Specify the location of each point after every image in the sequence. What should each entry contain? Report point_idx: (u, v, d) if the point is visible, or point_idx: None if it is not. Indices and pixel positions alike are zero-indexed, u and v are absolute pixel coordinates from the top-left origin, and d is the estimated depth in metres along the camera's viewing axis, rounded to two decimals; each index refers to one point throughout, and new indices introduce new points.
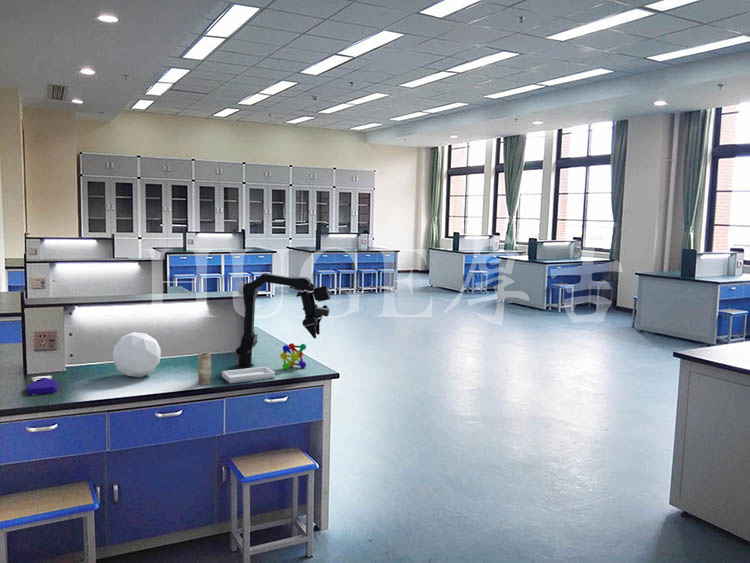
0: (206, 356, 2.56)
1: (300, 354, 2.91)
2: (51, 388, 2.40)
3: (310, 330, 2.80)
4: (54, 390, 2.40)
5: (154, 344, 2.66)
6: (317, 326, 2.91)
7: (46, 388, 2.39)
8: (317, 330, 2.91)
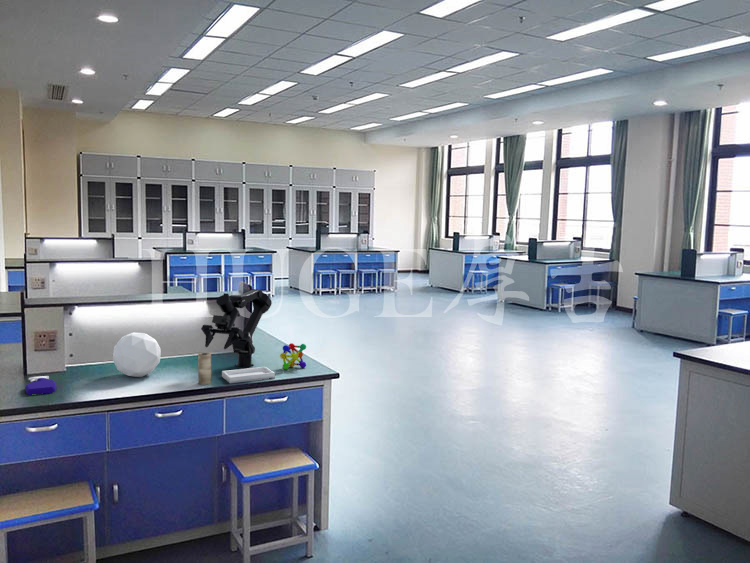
0: (206, 356, 2.56)
1: (300, 354, 2.91)
2: (50, 388, 2.40)
3: None
4: (53, 390, 2.40)
5: (154, 344, 2.66)
6: None
7: (45, 388, 2.39)
8: None
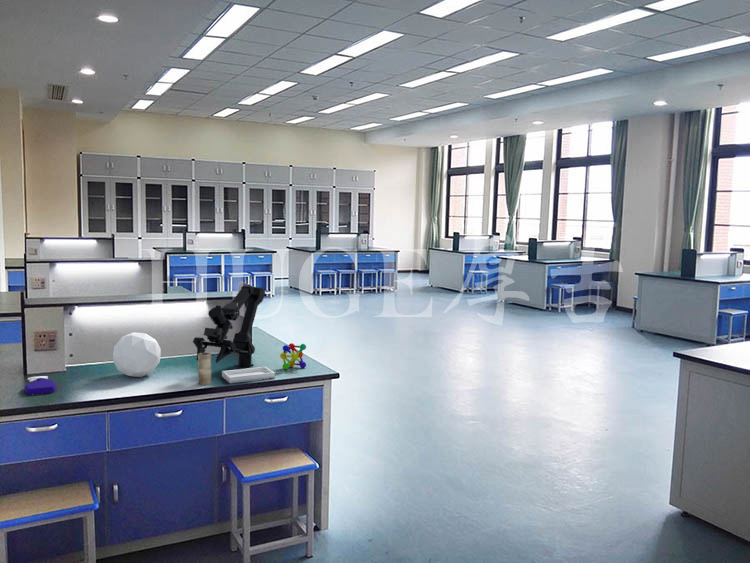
0: (206, 356, 2.56)
1: (300, 354, 2.91)
2: (50, 388, 2.40)
3: None
4: (53, 390, 2.40)
5: (154, 344, 2.66)
6: None
7: (45, 388, 2.39)
8: None
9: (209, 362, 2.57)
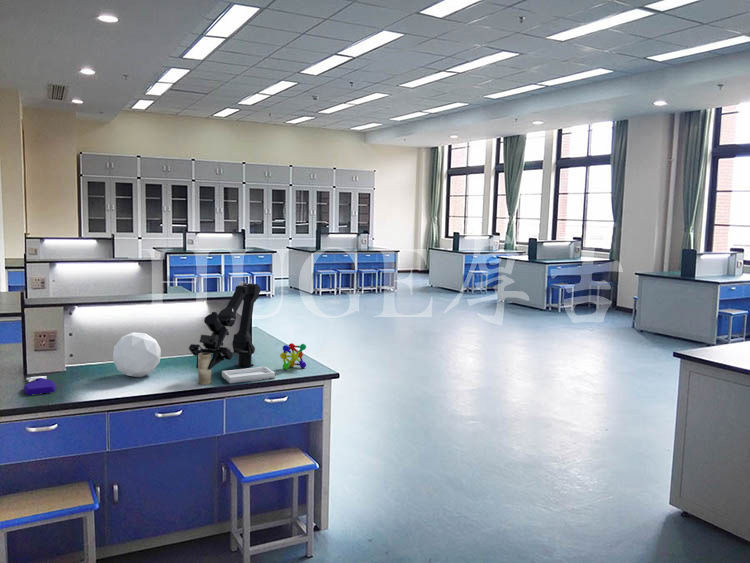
0: (206, 356, 2.56)
1: (300, 354, 2.91)
2: (49, 388, 2.40)
3: None
4: (52, 390, 2.40)
5: (154, 344, 2.66)
6: None
7: (44, 388, 2.39)
8: None
9: (209, 362, 2.57)
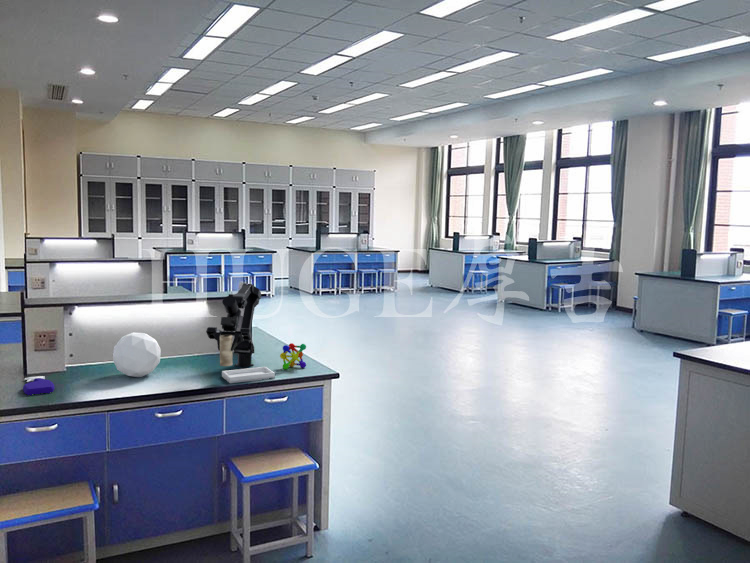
0: (229, 338, 2.59)
1: (300, 354, 2.91)
2: (49, 388, 2.40)
3: None
4: (52, 390, 2.40)
5: (154, 344, 2.66)
6: None
7: (44, 388, 2.39)
8: None
9: (231, 343, 2.61)
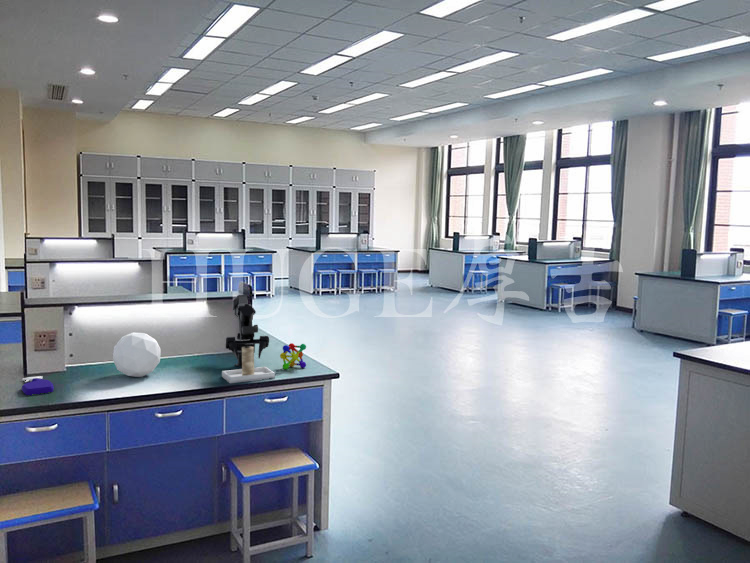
0: (252, 349, 2.68)
1: (300, 354, 2.91)
2: (48, 388, 2.40)
3: (234, 352, 2.69)
4: (51, 390, 2.40)
5: (154, 344, 2.66)
6: (259, 350, 2.71)
7: (43, 388, 2.39)
8: None
9: (253, 354, 2.69)
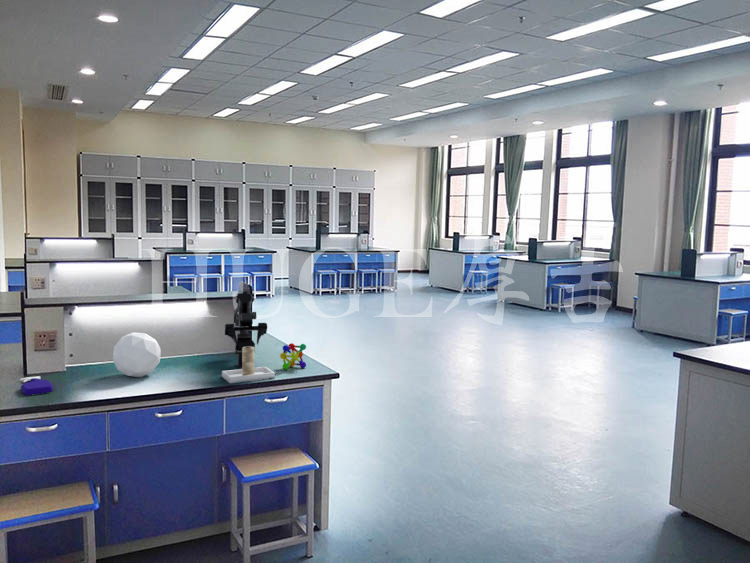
0: (253, 349, 2.68)
1: (300, 354, 2.91)
2: (48, 388, 2.40)
3: (233, 338, 2.75)
4: (51, 390, 2.41)
5: (154, 344, 2.66)
6: (257, 336, 2.77)
7: (43, 388, 2.39)
8: (257, 340, 2.77)
9: None
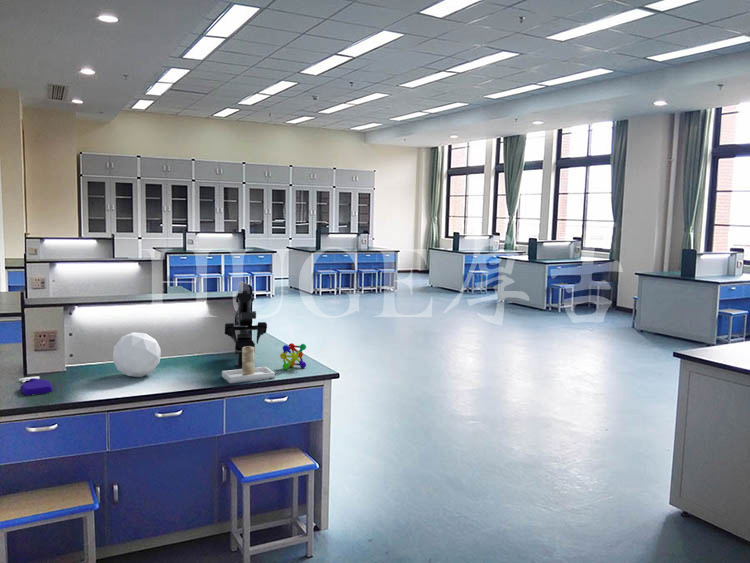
0: (253, 349, 2.68)
1: (300, 354, 2.91)
2: (48, 388, 2.40)
3: (232, 337, 2.77)
4: (51, 390, 2.41)
5: (154, 344, 2.66)
6: (257, 335, 2.78)
7: (43, 388, 2.39)
8: None
9: None
